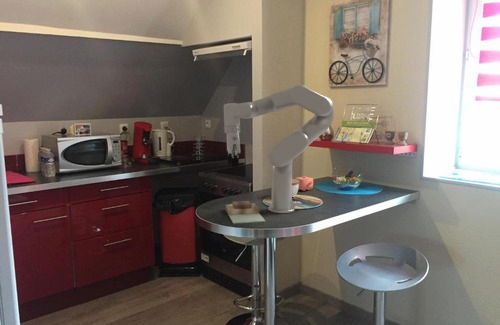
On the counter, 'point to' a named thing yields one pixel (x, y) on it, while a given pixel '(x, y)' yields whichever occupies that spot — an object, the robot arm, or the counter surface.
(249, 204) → the walnut block
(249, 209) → the birch board
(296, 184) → the lidded bowl
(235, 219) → the sage mat
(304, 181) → the pink cube teapot
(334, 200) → the counter surface
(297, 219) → the counter surface
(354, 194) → the counter surface
